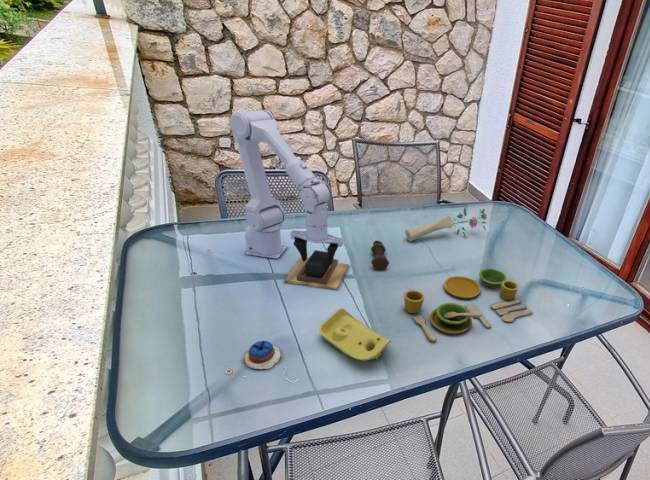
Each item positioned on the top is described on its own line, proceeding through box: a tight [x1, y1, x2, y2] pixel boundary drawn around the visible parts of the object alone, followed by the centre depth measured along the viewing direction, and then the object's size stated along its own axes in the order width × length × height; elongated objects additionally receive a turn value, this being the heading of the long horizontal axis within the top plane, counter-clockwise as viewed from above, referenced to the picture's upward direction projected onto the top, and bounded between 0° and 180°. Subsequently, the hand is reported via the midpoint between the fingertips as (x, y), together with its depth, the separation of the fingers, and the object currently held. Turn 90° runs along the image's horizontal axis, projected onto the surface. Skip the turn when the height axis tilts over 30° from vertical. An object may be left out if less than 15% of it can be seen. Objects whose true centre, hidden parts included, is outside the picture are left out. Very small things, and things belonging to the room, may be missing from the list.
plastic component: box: [318, 307, 392, 361], centre depth 110 cm, size 20×7×10 cm
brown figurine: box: [370, 240, 390, 271], centre depth 148 cm, size 6×5×15 cm
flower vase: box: [404, 207, 488, 243], centre depth 173 cm, size 12×12×35 cm
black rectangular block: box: [305, 249, 330, 278], centre depth 132 cm, size 4×9×5 cm, turn 4°
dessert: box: [244, 340, 281, 370], centre depth 101 cm, size 8×7×6 cm
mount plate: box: [284, 255, 349, 290], centre depth 133 cm, size 15×14×2 cm
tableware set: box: [403, 268, 533, 343], centre depth 137 cm, size 41×28×6 cm
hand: (317, 261), depth 131 cm, fingers open, 7 cm apart
